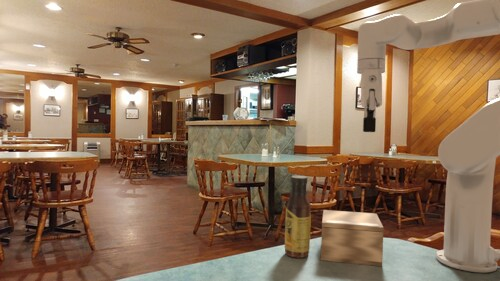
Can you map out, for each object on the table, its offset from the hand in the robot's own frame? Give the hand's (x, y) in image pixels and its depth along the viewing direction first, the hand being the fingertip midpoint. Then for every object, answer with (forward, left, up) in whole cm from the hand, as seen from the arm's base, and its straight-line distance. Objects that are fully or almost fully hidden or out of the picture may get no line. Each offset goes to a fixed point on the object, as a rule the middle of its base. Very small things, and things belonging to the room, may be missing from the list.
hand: (369, 131), depth 101 cm
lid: (+5, +13, -23) cm, 27 cm away
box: (+5, +13, -31) cm, 34 cm away
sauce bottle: (+18, +18, -31) cm, 40 cm away
